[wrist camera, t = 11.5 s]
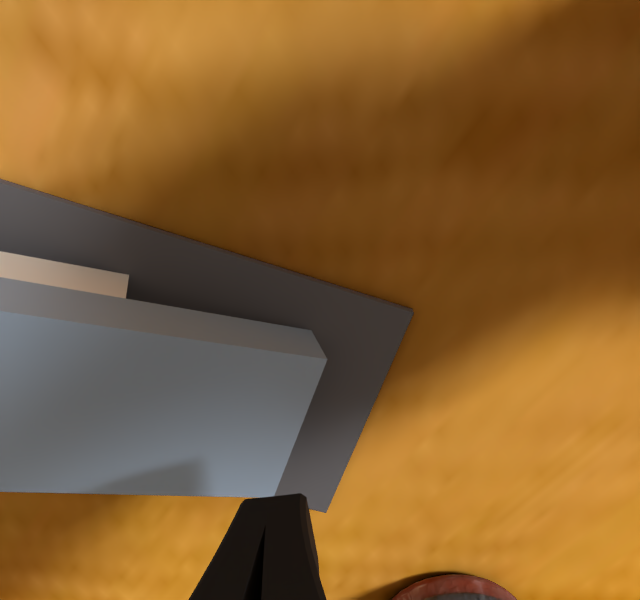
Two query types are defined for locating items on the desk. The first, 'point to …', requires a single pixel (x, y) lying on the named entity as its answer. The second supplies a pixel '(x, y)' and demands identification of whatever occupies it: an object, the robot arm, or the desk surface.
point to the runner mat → (232, 313)
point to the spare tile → (146, 396)
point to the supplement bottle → (454, 589)
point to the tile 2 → (63, 275)
